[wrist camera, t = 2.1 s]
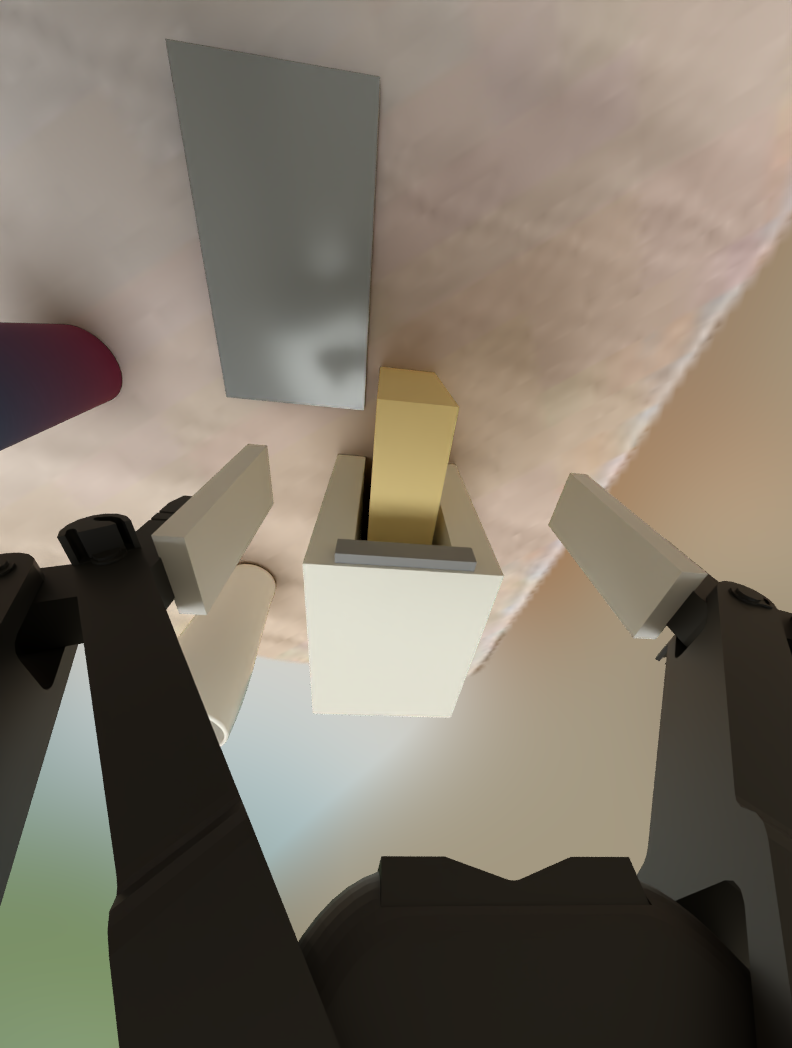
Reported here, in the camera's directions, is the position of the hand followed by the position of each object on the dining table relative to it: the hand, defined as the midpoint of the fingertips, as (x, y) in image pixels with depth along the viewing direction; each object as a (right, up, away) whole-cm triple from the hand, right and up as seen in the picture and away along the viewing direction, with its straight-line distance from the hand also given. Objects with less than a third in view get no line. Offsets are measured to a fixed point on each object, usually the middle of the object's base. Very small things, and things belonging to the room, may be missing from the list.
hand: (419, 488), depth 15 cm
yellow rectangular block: (-1, +4, +13) cm, 14 cm away
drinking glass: (-16, -7, +21) cm, 27 cm away
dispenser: (-2, -2, +17) cm, 17 cm away
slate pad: (-8, +14, +6) cm, 17 cm away
